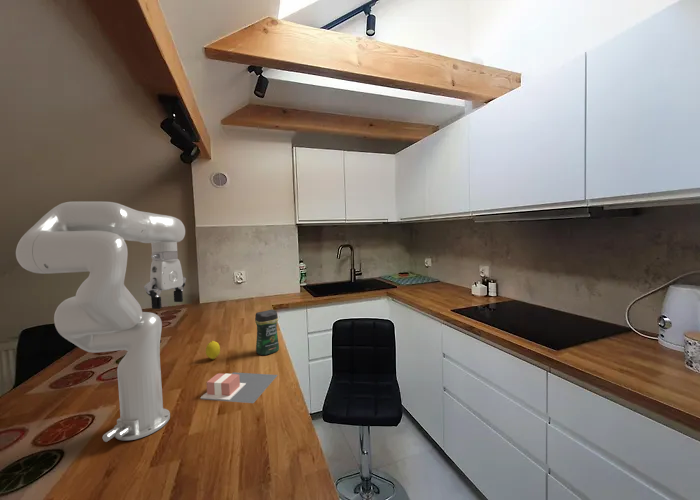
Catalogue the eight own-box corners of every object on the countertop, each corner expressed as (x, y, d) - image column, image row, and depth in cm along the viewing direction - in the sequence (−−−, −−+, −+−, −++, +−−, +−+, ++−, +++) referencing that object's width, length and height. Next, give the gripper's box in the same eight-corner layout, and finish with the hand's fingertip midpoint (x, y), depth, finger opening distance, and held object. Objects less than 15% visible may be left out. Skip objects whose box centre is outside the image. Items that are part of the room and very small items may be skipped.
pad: (229, 400, 90) (229, 399, 90) (200, 398, 92) (200, 397, 92) (245, 384, 100) (245, 383, 100) (219, 382, 102) (219, 381, 102)
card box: (207, 394, 94) (206, 382, 94) (218, 384, 100) (218, 373, 100) (229, 396, 92) (228, 383, 92) (240, 385, 98) (239, 374, 98)
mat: (253, 404, 89) (253, 403, 88) (201, 400, 92) (200, 399, 92) (277, 376, 106) (277, 374, 106) (233, 373, 109) (233, 372, 109)
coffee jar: (262, 357, 123) (260, 314, 122) (253, 352, 129) (251, 311, 128) (282, 351, 130) (280, 310, 129) (273, 346, 135) (271, 307, 134)
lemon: (204, 359, 123) (203, 341, 122) (217, 355, 127) (216, 337, 126) (209, 363, 119) (208, 344, 119) (222, 358, 123) (221, 340, 123)
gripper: (153, 258, 92) (157, 311, 93) (192, 254, 109) (194, 299, 110) (133, 259, 93) (137, 311, 94) (174, 255, 110) (177, 299, 111)
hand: (168, 305), depth 102 cm, fingers open, 9 cm apart
